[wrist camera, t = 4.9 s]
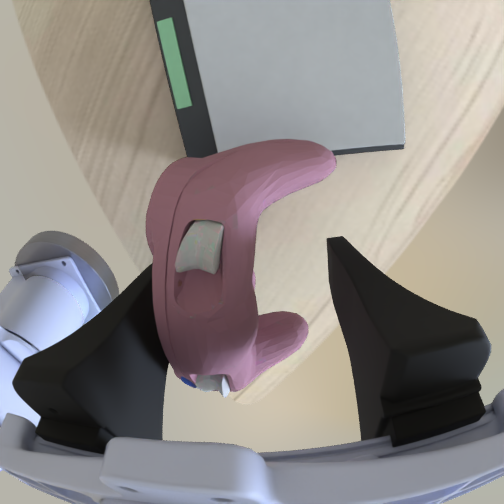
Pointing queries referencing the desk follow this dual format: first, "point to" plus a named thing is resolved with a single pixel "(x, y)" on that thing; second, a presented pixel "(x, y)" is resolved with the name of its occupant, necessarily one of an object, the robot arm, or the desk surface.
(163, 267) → the video game controller
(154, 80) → the desk surface
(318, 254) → the desk surface
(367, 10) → the scale
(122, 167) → the desk surface
